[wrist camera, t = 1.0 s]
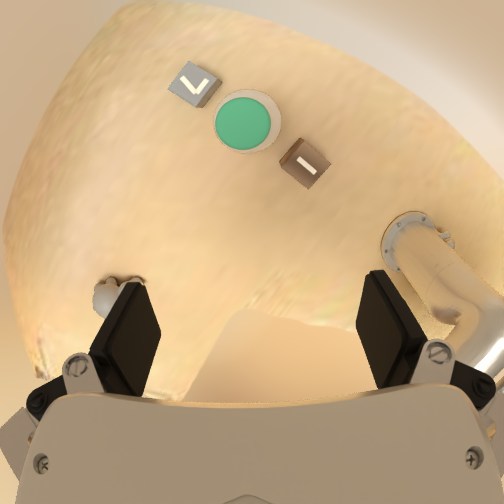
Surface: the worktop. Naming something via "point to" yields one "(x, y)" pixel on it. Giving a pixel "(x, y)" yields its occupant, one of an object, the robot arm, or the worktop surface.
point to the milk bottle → (247, 121)
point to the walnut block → (304, 163)
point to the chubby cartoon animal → (108, 295)
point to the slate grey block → (194, 85)
